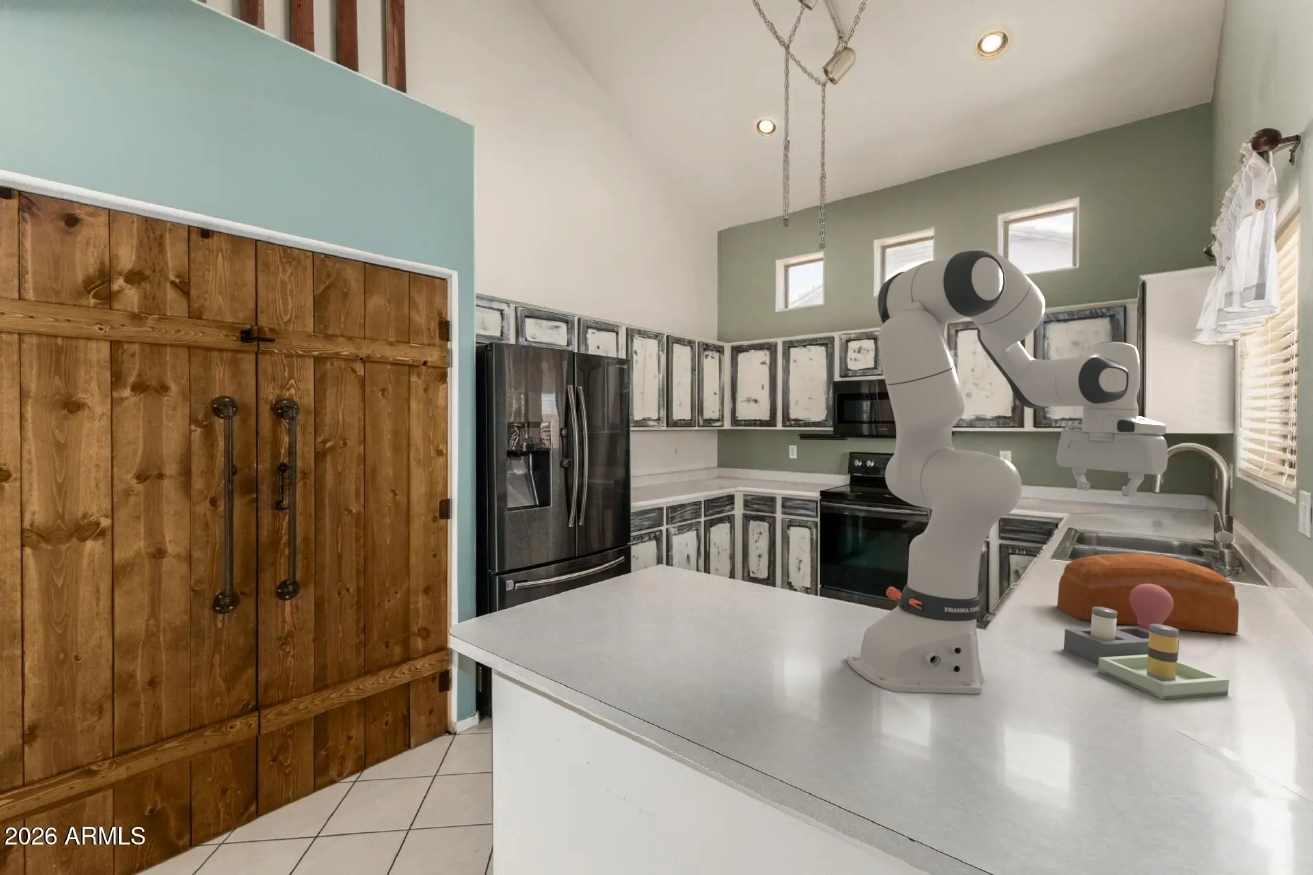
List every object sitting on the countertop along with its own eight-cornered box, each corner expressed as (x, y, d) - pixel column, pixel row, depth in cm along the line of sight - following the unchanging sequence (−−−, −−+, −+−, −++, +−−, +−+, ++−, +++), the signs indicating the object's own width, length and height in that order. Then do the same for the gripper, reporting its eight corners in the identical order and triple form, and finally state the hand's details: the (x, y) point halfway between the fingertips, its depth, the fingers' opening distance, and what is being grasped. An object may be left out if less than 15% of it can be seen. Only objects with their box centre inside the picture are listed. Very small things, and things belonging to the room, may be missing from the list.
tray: (1163, 699, 95) (1164, 684, 95) (1098, 671, 106) (1098, 657, 105) (1228, 694, 98) (1229, 679, 98) (1158, 666, 109) (1159, 653, 109)
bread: (1050, 604, 147) (1054, 543, 147) (1200, 617, 142) (1204, 553, 141) (1079, 622, 134) (1084, 555, 133) (1246, 638, 128) (1251, 567, 128)
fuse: (1102, 660, 111) (1105, 613, 111) (1084, 652, 115) (1087, 606, 114) (1119, 659, 112) (1122, 612, 111) (1100, 651, 115) (1103, 606, 115)
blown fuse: (1164, 684, 99) (1167, 631, 99) (1140, 674, 103) (1143, 624, 103) (1181, 682, 100) (1184, 631, 100) (1157, 673, 104) (1160, 623, 104)
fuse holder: (1102, 665, 108) (1104, 644, 108) (1063, 648, 116) (1064, 628, 116) (1177, 660, 112) (1179, 639, 112) (1135, 644, 120) (1136, 625, 120)
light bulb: (1179, 649, 119) (1183, 590, 118) (1139, 645, 120) (1143, 587, 120) (1157, 636, 126) (1160, 581, 125) (1119, 633, 127) (1122, 578, 127)
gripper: (1050, 423, 127) (1047, 486, 127) (1149, 424, 107) (1144, 499, 107) (1074, 424, 128) (1070, 487, 129) (1176, 425, 108) (1171, 500, 109)
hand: (1105, 493), depth 118 cm, fingers open, 8 cm apart
